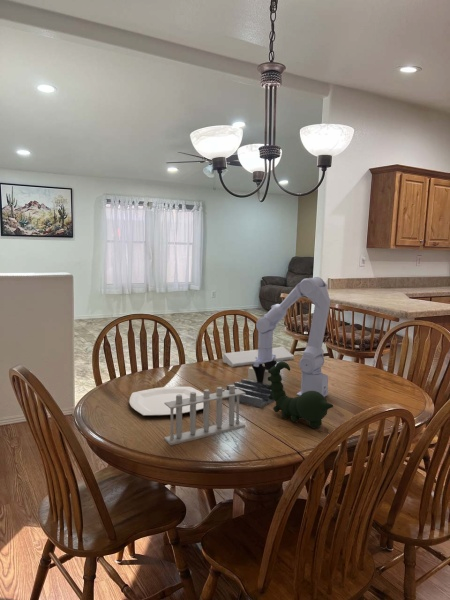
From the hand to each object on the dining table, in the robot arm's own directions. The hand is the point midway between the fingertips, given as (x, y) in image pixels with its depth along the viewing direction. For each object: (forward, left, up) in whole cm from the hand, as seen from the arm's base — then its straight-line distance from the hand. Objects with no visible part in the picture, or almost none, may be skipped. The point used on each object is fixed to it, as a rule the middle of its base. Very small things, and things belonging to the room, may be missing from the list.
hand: (264, 380), depth 172 cm
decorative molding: (+20, -30, -2) cm, 37 cm away
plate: (+16, +39, -2) cm, 42 cm away
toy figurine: (-27, +25, -2) cm, 37 cm away
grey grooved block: (-3, +15, -2) cm, 15 cm away
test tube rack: (-9, +50, -2) cm, 51 cm away
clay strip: (0, 0, -2) cm, 2 cm away
